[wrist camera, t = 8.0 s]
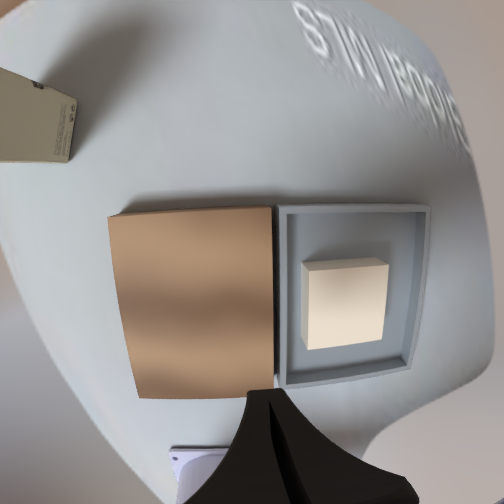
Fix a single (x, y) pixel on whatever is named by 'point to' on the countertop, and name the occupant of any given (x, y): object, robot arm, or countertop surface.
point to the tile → (342, 301)
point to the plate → (196, 299)
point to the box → (34, 121)
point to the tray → (349, 247)
